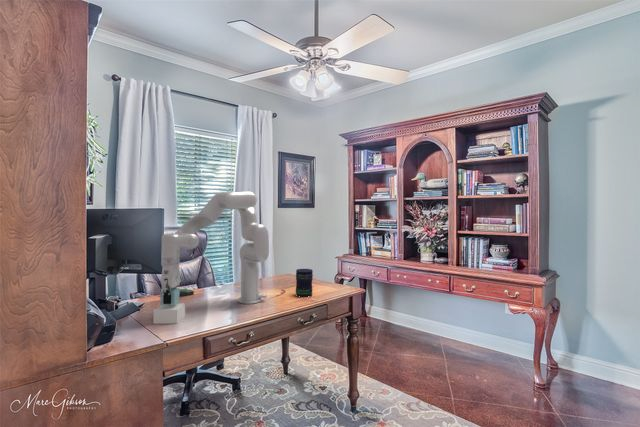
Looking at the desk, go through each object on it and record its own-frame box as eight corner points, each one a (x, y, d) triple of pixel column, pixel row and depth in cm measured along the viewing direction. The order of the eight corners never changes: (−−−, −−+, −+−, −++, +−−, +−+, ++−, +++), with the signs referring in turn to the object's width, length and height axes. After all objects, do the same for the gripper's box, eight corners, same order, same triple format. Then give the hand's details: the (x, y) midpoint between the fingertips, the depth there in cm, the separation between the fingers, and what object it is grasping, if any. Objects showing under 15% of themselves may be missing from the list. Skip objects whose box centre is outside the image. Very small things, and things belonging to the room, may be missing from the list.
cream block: (184, 316, 156) (185, 303, 155) (177, 323, 146) (177, 309, 146) (162, 316, 155) (162, 303, 155) (153, 323, 145) (153, 309, 145)
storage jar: (308, 298, 191) (308, 272, 191) (292, 296, 194) (293, 270, 194) (314, 294, 200) (315, 269, 200) (299, 292, 204) (300, 268, 204)
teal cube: (179, 301, 153) (179, 288, 153) (174, 305, 147) (174, 291, 147) (165, 301, 153) (165, 288, 153) (160, 305, 147) (160, 291, 147)
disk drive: (168, 300, 183) (194, 295, 195) (168, 295, 183) (194, 290, 195) (160, 297, 190) (185, 292, 201) (160, 292, 190) (185, 287, 201)
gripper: (172, 264, 142) (171, 307, 142) (185, 258, 159) (185, 296, 159) (153, 264, 141) (153, 307, 141) (169, 258, 158) (168, 296, 159)
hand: (170, 301), depth 150 cm, fingers closed on teal cube, 6 cm apart
